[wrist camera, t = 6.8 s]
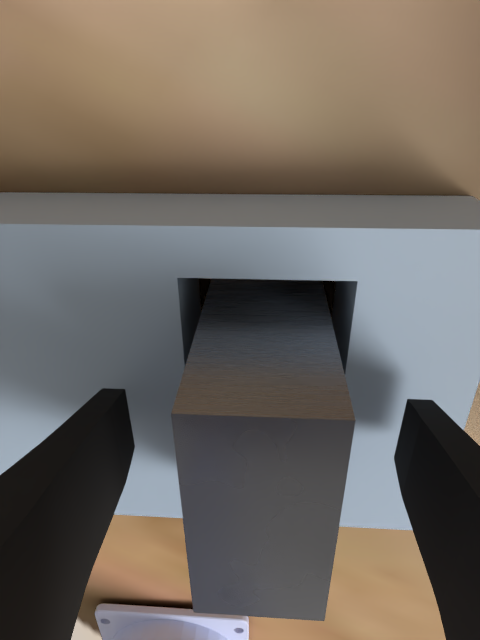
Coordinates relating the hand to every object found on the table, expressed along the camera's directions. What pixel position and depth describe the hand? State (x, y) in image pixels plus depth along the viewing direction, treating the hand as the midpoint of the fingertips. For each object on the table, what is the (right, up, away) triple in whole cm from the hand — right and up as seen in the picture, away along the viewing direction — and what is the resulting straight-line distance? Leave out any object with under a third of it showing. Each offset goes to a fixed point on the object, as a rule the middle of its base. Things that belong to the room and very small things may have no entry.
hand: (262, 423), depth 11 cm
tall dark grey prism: (0, +2, +3) cm, 4 cm away
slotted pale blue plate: (-3, +2, +3) cm, 5 cm away
